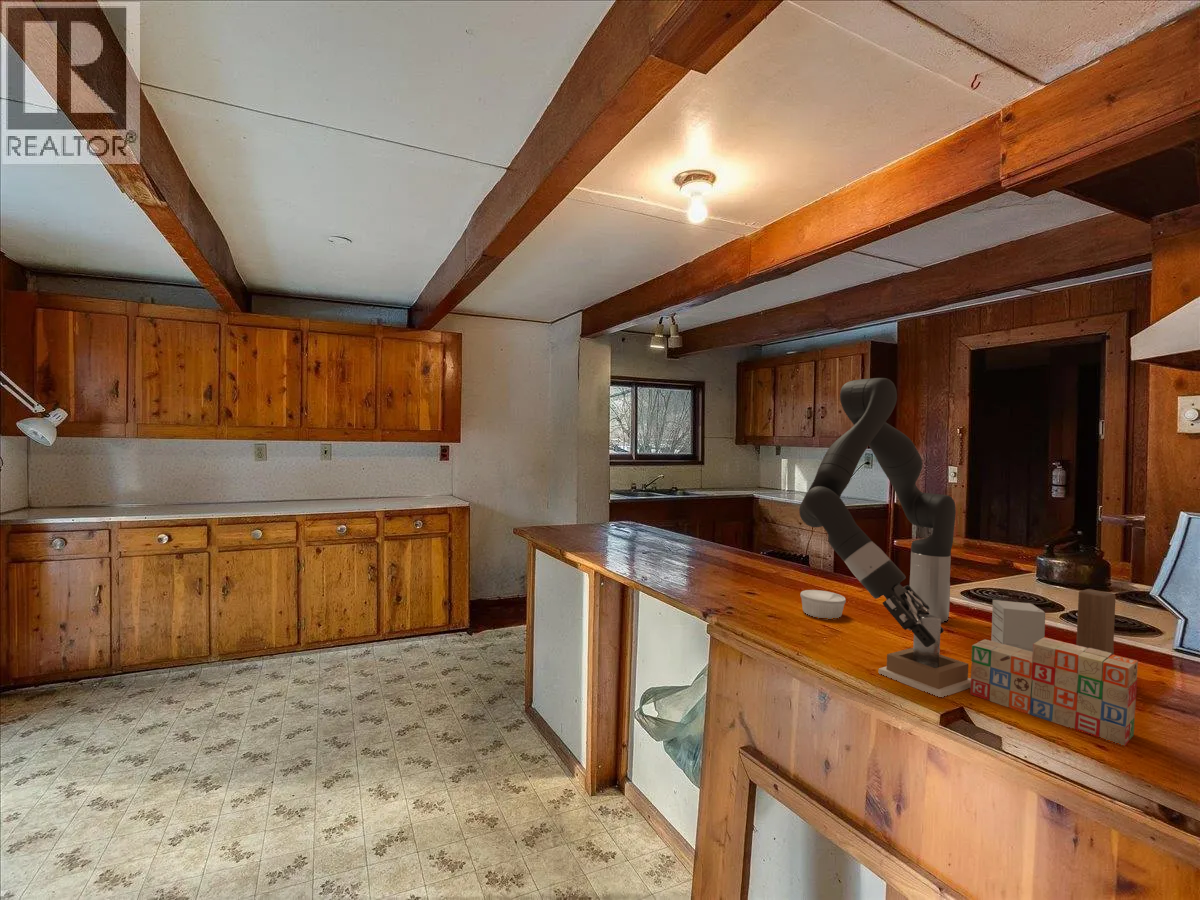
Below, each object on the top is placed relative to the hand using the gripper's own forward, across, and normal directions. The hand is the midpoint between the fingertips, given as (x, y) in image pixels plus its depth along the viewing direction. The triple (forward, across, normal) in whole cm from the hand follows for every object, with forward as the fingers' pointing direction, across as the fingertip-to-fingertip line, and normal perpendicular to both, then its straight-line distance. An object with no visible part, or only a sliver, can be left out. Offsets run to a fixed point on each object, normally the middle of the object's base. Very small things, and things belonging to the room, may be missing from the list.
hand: (936, 639), depth 109 cm
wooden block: (+23, +24, -11) cm, 35 cm away
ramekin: (-16, +30, +28) cm, 44 cm away
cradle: (+5, 0, +7) cm, 8 cm away
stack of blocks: (+18, -2, -6) cm, 19 cm away
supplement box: (+14, +23, -2) cm, 27 cm away
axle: (+4, 0, +6) cm, 7 cm away
